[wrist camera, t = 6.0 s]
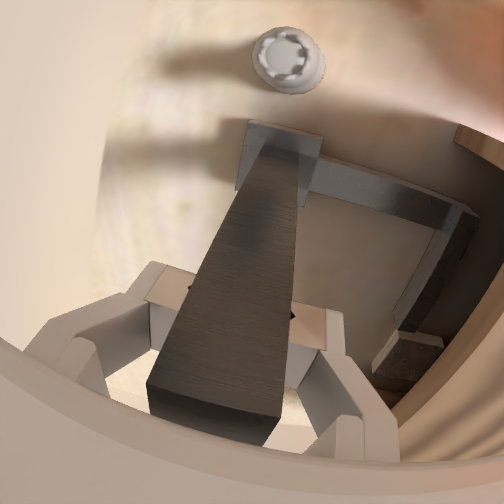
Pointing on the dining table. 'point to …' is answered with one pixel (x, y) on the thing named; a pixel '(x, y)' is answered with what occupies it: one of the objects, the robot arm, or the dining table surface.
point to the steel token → (407, 355)
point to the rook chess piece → (288, 60)
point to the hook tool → (280, 282)
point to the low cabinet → (460, 372)
